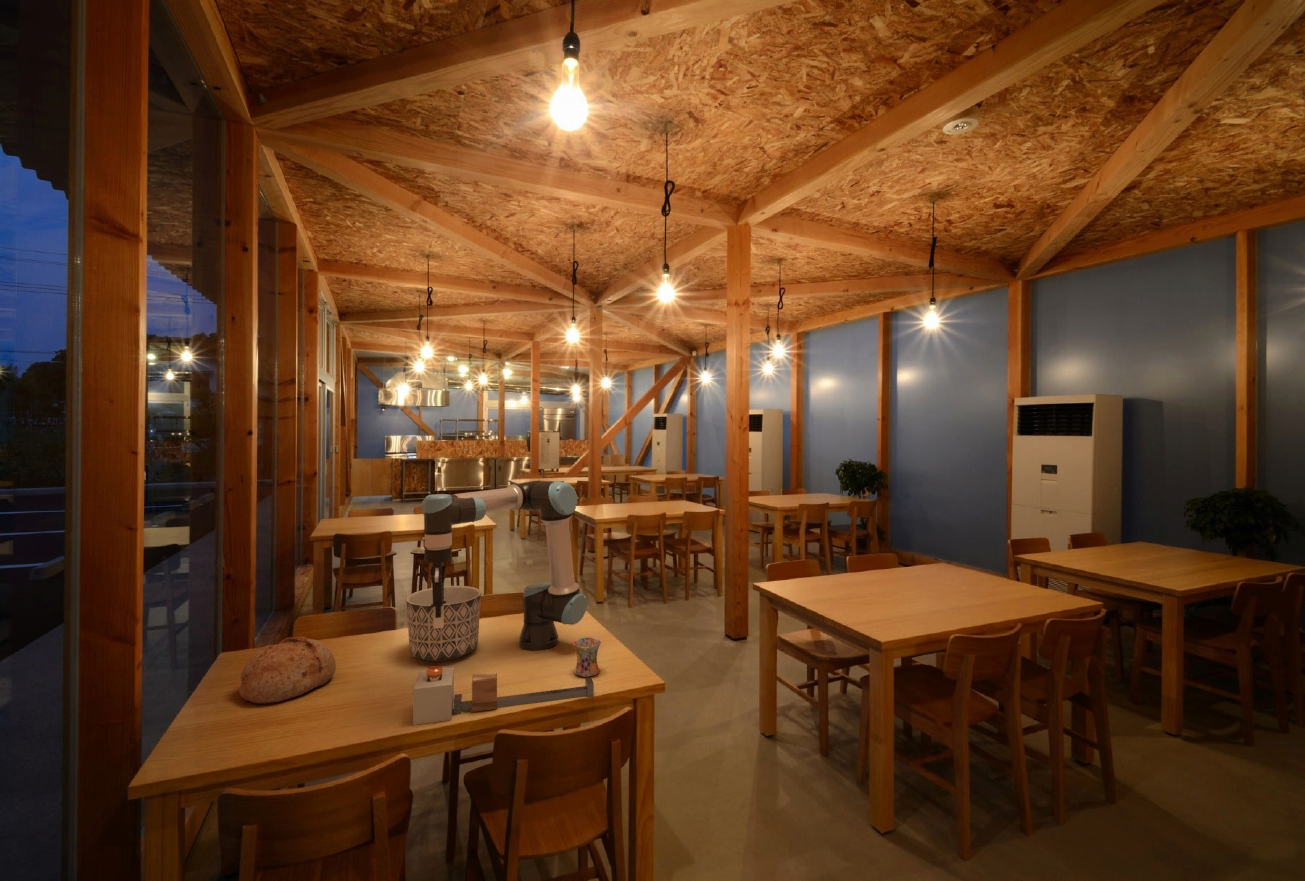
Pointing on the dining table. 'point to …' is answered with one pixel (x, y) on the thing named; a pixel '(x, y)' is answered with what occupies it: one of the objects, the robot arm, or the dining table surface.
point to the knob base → (433, 698)
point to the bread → (286, 670)
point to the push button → (434, 672)
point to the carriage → (484, 691)
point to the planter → (457, 628)
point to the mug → (586, 656)
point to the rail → (530, 697)
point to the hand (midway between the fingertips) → (438, 627)
